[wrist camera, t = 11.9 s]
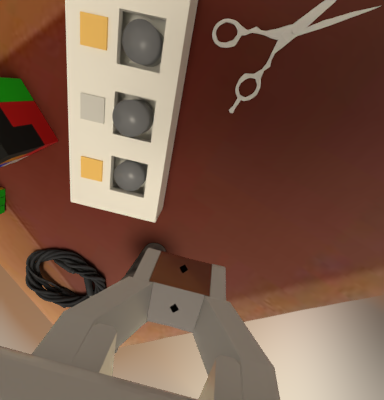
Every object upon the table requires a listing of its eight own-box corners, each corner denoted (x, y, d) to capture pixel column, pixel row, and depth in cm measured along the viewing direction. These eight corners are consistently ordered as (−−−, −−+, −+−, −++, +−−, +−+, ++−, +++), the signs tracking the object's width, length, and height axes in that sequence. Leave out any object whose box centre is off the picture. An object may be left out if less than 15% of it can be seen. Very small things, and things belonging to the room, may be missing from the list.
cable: (23, 262, 52) (7, 275, 48) (56, 229, 47) (41, 242, 43) (82, 308, 56) (72, 324, 52) (119, 283, 51) (110, 299, 47)
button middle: (155, 103, 31) (148, 104, 28) (151, 135, 33) (144, 140, 30) (124, 96, 32) (113, 96, 28) (122, 128, 33) (111, 132, 30)
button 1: (168, 30, 29) (161, 23, 26) (163, 70, 31) (156, 67, 28) (134, 23, 29) (123, 14, 26) (131, 63, 31) (120, 59, 28)
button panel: (198, -4, 28) (193, -23, 24) (162, 208, 41) (154, 223, 37) (88, -28, 29) (61, -52, 24) (87, 189, 42) (69, 202, 37)
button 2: (151, 160, 36) (144, 166, 33) (147, 185, 38) (141, 194, 35) (124, 153, 37) (114, 159, 33) (122, 179, 39) (113, 187, 35)
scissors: (198, 34, 30) (372, -75, 24) (198, 35, 31) (368, -71, 25) (230, 113, 33) (389, 35, 27) (230, 113, 34) (385, 36, 28)
